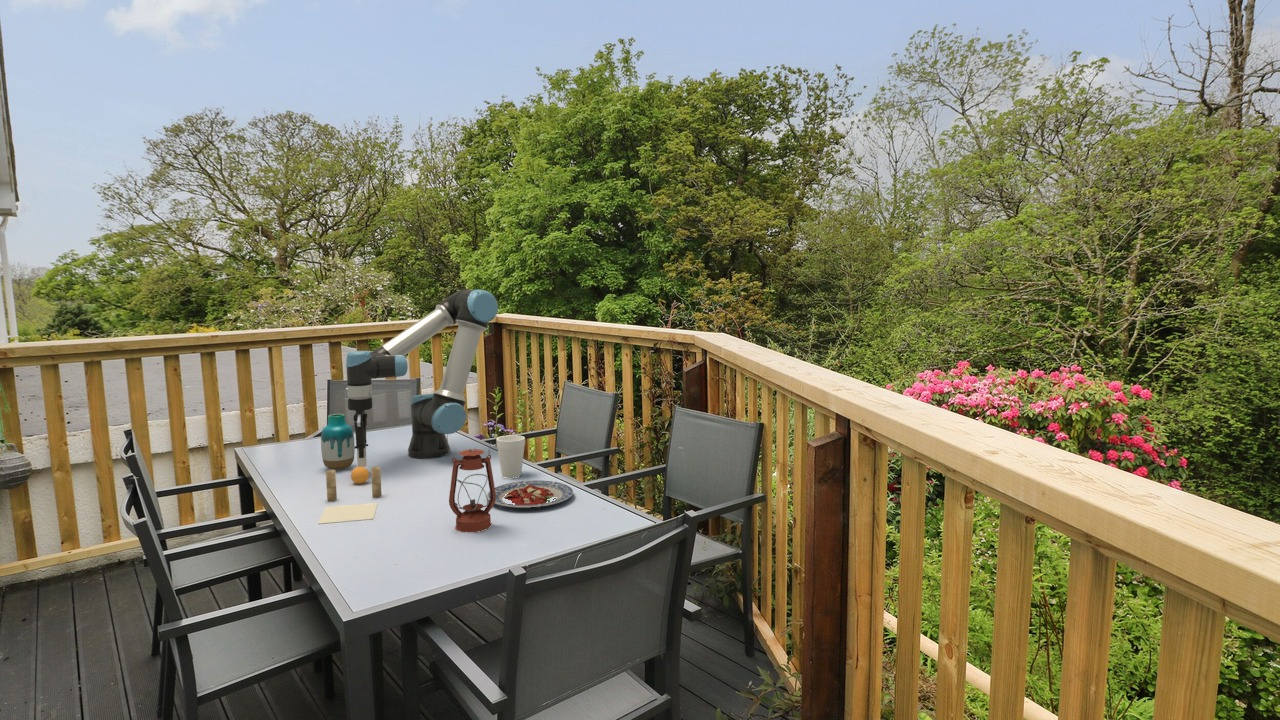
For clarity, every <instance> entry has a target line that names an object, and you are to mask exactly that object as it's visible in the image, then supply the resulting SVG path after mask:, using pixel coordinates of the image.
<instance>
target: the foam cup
mask: <svg viewBox="0 0 1280 720" xmlns="http://www.w3.org/2000/svg"><path fill="white" fill-rule="evenodd" d="M495 439H496V441H495V442H496V447H497V452H498V460H499V466H500V472H501V477H502V476H503V477H507V478H513V477H518V476H520V475H521V476H522V470H523V462H524V452H525V446H526V438H525V436H522V435H518V434H515V435H514V434H513V435H512V434H511V435H510V434H509V435H507V434H506V435H502V436H499V437H496V438H495ZM521 476H520V477H521ZM503 477H502V478H503ZM507 478H506V479H507ZM518 478H519V477H518ZM513 479H514V478H513Z"/></svg>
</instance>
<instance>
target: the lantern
mask: <svg viewBox="0 0 1280 720" xmlns="http://www.w3.org/2000/svg"><path fill="white" fill-rule="evenodd" d="M465 418H466V419H467V416H466V417H465ZM465 418H464V419H465ZM468 419H469V420H471V421H476V422H478V420H477V419H476V420H475V419H473V418H470V417H468ZM462 421H463V420H462ZM460 422H461V421H460ZM480 422H481V423H485V424H487V425H488V427H489V428H491V427H490V424H489V423H488V422H485V421H482V420H479V423H480ZM457 423H458V422H457ZM455 424H456V423H455ZM453 425H454V424H453ZM451 426H452V425H451ZM451 426H450V427H451ZM449 429H450V428H449ZM448 431H449V430H448ZM491 431H492V430H491V429H489V435H490V436H492V432H491ZM448 435H449V434H448V433H447V434H446V438H447V442H448V445H449V448H450V454H451V456H452V458H451V462H452V463H453V464H452V472H451V480H450V489H449V496H448V504H449V507H450V509H451V511H452V513H453V514H455V515H456V517H455V527H454V529H455V530H456V531H457V532H460V533H465V532H468V534H469V532H474V533H479V532H478V531H480V532H483V531H482V530H484V531H486V530H485V529H487V530H488V528H489V527H490V526H491V524H492V522H491V514H490V513H489V512H491V510H492V508H493V507H494V505H495V501H496V492H495V486H496V485H495V481H494V474H493V469H492V463H491V459H492V455H491V454H490V449H491V446H492V443H490V445H489V447H488V451H487V452H488V454H487V455H486V457H482V456H481V455H483V454H484V453H485V451H484V450H483V449H476V448H469V449H465V450H462V451H459V452H458V455H460V456H462V458H461V459H457V458H456V457H455V456H454V455H453V452H452V450H451V447H450V444H449V440H448ZM484 464H485V465H484ZM484 468H486V471H485V472H486V474H483V473H476V474H474V473H473V474H470V475H468V476H467V477H465V478H464V479H463V480H460V479H458V474H459V469H460V470H462V471H478V470H482V469H484ZM473 476H483V477H486V478H487V479H486V480H485V483H484V485H483V486H481V485H480V484H478V483H473V482H467V481H466V480H467V479H468V478H469V477H473ZM457 482H459V483H460V484H461V485H460V487H459V490H458V494H457V503H456V499H455V498H456V497H455V496H456V488H457ZM487 483H488V487H489V491H490V501H489V500H488V498H487V493H486V491H485V489H484V488H485V486H486V484H487ZM464 484H469V485H475V486H478V487H479V488H480V489H481V491H480V493H479V496H478V499H477V502H476V499H475V498H474V499H472V498H471V497H470V494H469V493H468V490H467V487H466V486H465V485H464ZM462 487H463V488H464V489H465V491H466V494H467V497H468V498H469V503H467V504H465V505H464V504H463V506H461V505H460V503H459V496H460V493H461V492H460V491H461V489H462ZM483 492H484V495H485V498H486V501H487V502H486V505H484V504H482V503H479V501H480V498H481V496H482V495H481V494H482V493H483ZM483 508H485V509H483ZM460 509H461V510H463V512H462V511H461V510H460ZM491 527H492V526H491ZM491 527H490V528H491ZM490 528H489V529H490Z"/></svg>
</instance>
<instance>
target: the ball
mask: <svg viewBox="0 0 1280 720" xmlns="http://www.w3.org/2000/svg"><path fill="white" fill-rule="evenodd" d="M369 477H370V471H369V470H368V469H367V467H358V466H356V467H355V468H353V470H352V471H351V473H350V479H351V481H352V482H353V483H355V484H359V485H360V484H364V483H366V482H367V481H369V479H370V478H369Z"/></svg>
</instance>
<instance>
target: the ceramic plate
mask: <svg viewBox="0 0 1280 720" xmlns="http://www.w3.org/2000/svg"><path fill="white" fill-rule="evenodd" d="M495 492H496V501H495V503H494V505H498V506H502V507H509V508H518V509H532V508H531V507H537V508H542V507H541V506H543V507H545V506H546V507H548V506H552V505H556V504H560V503H562V502H565V501H566V500H568V499H570V498H571V497H572V496H573V494H574V489H573V488H572V487H571V486H569V485H567V484H566V483H562V482H557V481H552V480H543V479H542V480H541V479H540V480H536V479H535V480H531V479H530V480H520V481H514V482H513V481H512V482H508V483H504V484H500V485H498V486H496V487H495ZM507 493H508V494H507ZM505 494H507V495H506V496H505ZM486 495H487V498H488V502H489V501H490V490H489V491H487V493H486ZM504 496H505V497H504ZM503 497H504V498H505V499H508V500H511V501H512V503H515V505H513V504H507V503H505V502H503V500H502V498H503ZM552 497H557V499H556V498H554V499H556V500H555V501H552V502H550V500H547V499H550V498H552ZM487 498H486V499H487ZM554 499H553V500H554ZM547 501H548V503H546V502H547Z"/></svg>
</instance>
